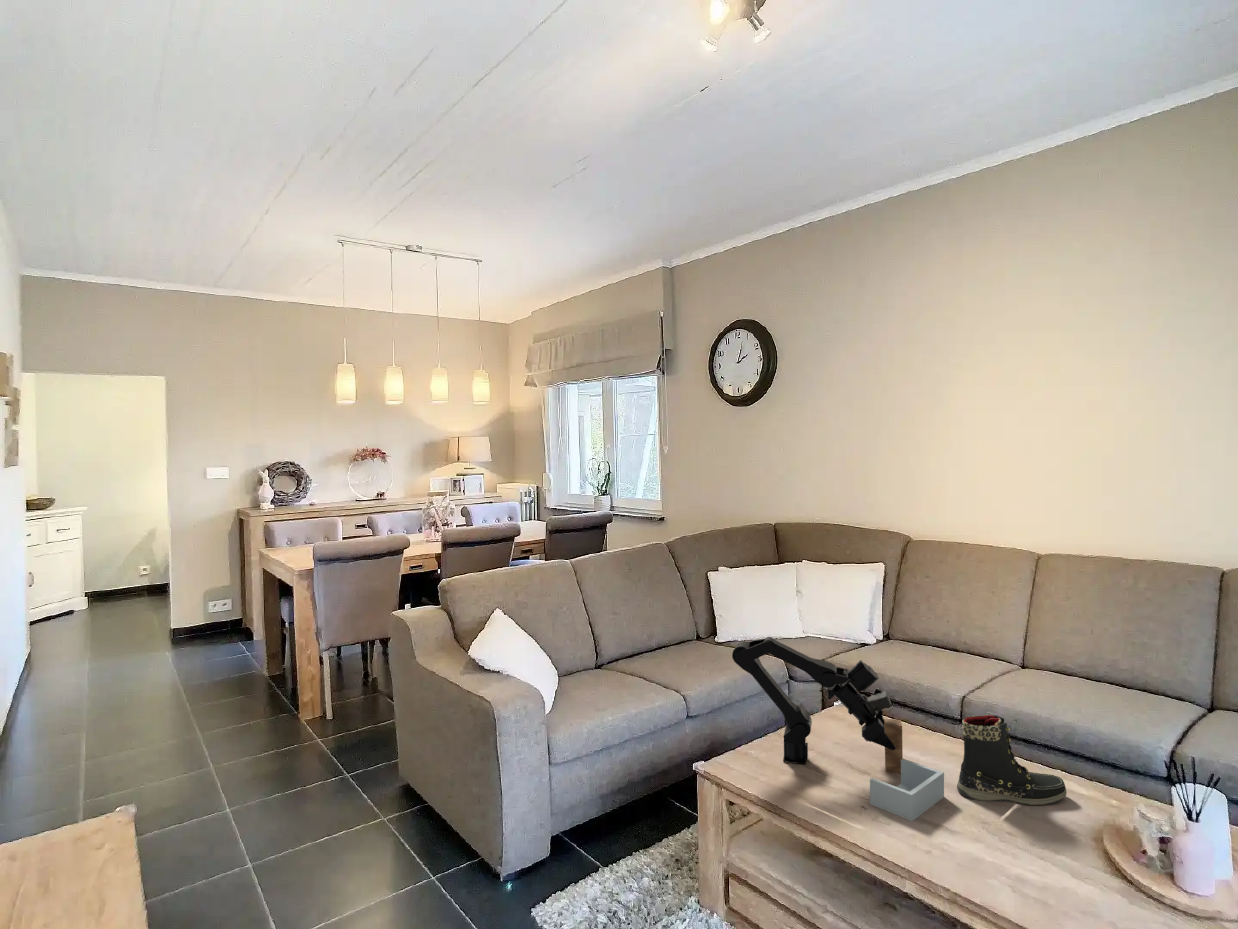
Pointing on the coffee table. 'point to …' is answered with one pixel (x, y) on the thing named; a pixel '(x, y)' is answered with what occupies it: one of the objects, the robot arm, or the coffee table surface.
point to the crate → (909, 791)
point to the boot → (1000, 767)
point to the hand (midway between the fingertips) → (893, 742)
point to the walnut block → (895, 735)
